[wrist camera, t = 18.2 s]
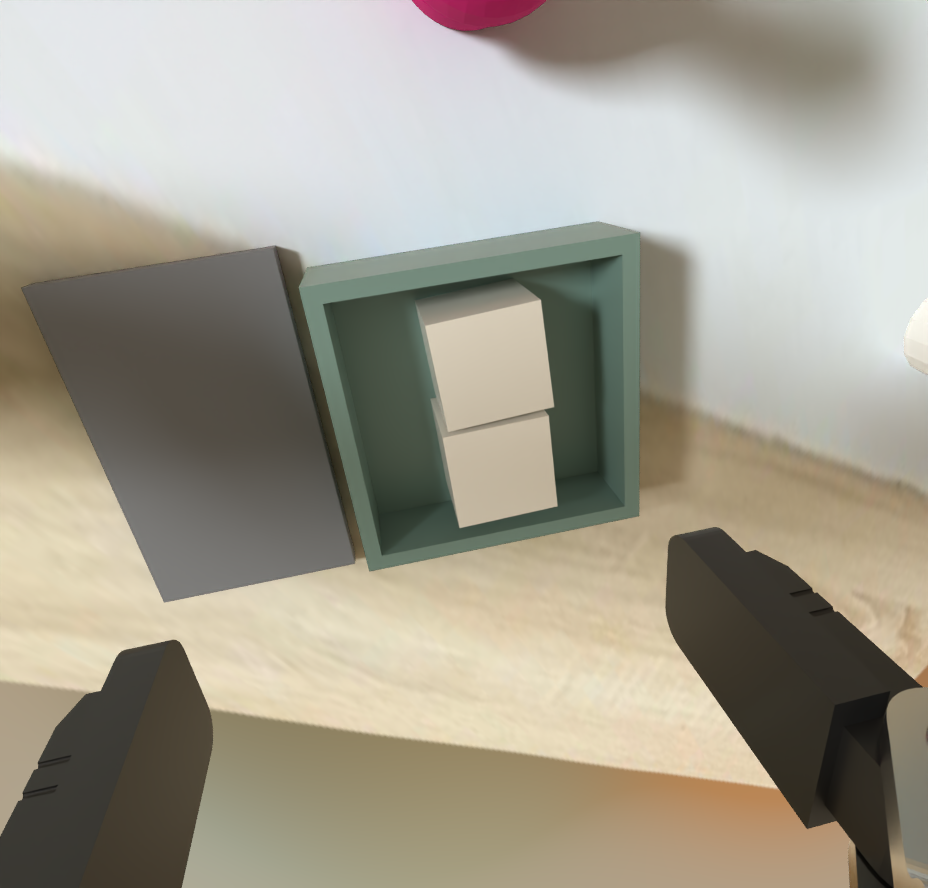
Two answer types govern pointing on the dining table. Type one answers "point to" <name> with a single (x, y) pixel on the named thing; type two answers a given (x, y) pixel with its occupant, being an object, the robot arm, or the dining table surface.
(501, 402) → the pale stone
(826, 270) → the dining table surface
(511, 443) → the pale stone
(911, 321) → the shot glass
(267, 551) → the stone mat
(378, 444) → the bin
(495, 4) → the pepper mill
